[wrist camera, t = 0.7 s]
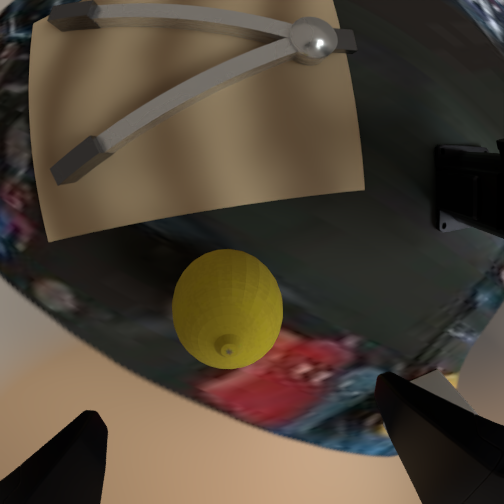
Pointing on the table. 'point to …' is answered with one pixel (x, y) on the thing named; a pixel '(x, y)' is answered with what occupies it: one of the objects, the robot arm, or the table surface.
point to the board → (187, 121)
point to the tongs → (202, 85)
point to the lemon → (227, 309)
